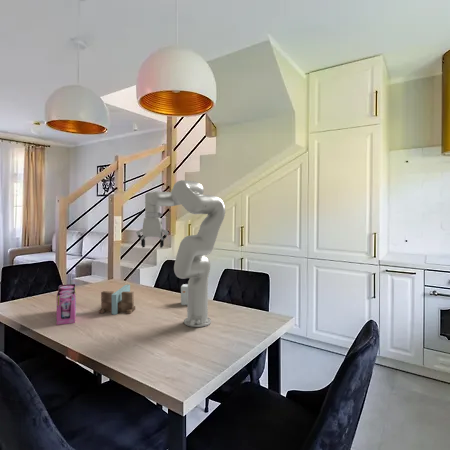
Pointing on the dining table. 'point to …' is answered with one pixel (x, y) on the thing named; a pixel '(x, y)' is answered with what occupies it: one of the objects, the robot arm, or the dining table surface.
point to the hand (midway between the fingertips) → (152, 247)
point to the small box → (184, 294)
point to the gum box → (66, 304)
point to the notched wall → (123, 305)
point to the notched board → (118, 298)
